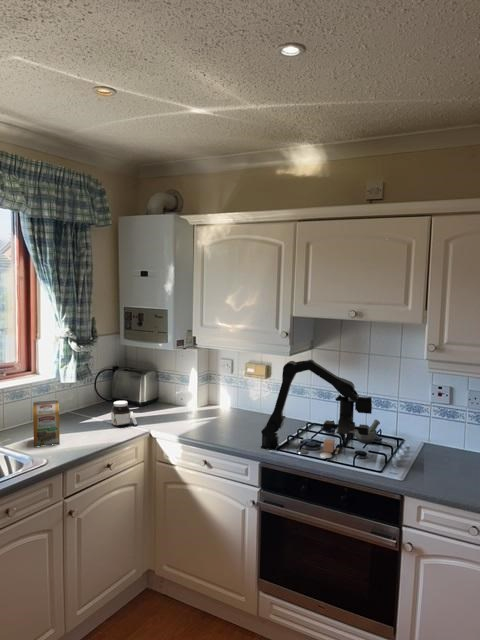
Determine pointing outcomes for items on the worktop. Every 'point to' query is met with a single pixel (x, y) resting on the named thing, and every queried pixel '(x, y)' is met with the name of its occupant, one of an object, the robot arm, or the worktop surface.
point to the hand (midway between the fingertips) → (345, 447)
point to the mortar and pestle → (371, 434)
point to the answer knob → (328, 445)
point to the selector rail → (300, 444)
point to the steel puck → (302, 452)
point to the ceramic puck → (326, 455)
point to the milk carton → (46, 422)
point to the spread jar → (121, 414)
